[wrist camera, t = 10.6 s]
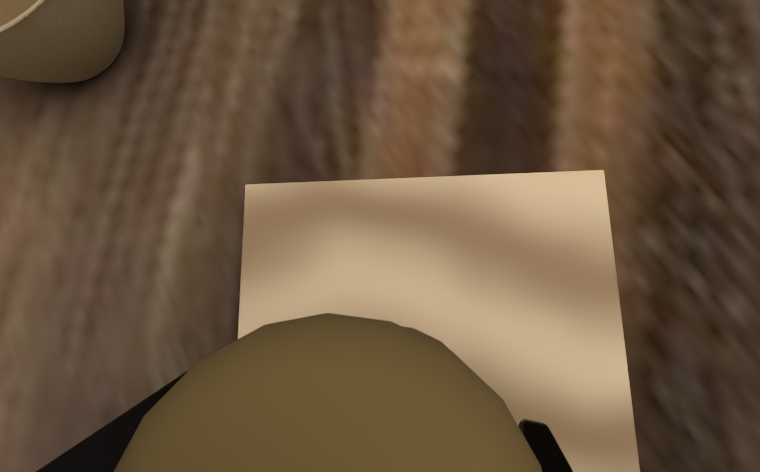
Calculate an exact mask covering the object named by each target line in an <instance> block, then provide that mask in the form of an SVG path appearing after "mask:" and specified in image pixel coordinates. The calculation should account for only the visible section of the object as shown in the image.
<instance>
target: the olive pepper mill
mask: <svg viewBox="0 0 760 472" xmlns="http://www.w3.org/2000/svg"><path fill="white" fill-rule="evenodd" d="M114 472H542V468H541V465H540V463H539V462H538V460H537V458H536V456H535V455H534V453H533V451H532V449H531V448H530V446H529V444H528V442H527V441H526V439H525V437H524V435H523V434H522V432H521V430H520V428H519V427H518V425H517V423H516V421H515V420H514V418H513V416H512V414H511V412H510V411H509V409H508V407H507V405H506V404H505V402H504V400H503V399H502V398H501V397H500V396H499V395H498V394H497V393H496V392H495V391H494V390H493V389H491V388H490V387H489V386H488V385H487V384H486V383H485V382H484V381H483V380H482V379H481V378H480V377H479V376H478V375H477V374H476V373H475V372H474V371H472V370H471V369H470V368H469V367H468V366H467V365H466V364H465V363H464V362H463V361H462V360H461V359H460V358H459V357H458V356H457V355H456V354H455V353H453V352H452V351H451V350H450V349H449V348H448V347H447V346H445V345H444V344H443V343H442V342H441V341H439V340H437V339H435V338H433V337H431V336H429V335H427V334H425V333H423V332H421V331H419V330H416V329H414V328H410V327H402V326H400V325H398V324H396V323H394V322H391V321H385V320H377V319H370V318H362V317H355V316H347V315H340V314H333V313H324V314H319V315H313V316H308V317H303V318H297V319H292V320H287V321H282V322H276V323H271V324H266V325H263V326H261V327H260V328H258V329H256V330H254V331H252V332H250V333H249V334H247V335H245V336H243V337H241V338H239V339H238V340H236V341H234V342H232V343H230V344H228V345H227V346H225V347H223V348H221V349H219V350H217V351H216V352H214V353H212V354H210V355H208V356H207V357H205V358H204V359H202V360H201V361H199V362H198V363H196V364H195V365H194V366H193V367H192V368H191V369H190V370H189V371H188V372H187V373H186V374H185V375H184V376H183V377H182V378H181V379H180V380H179V381H178V382H177V383H176V384H175V385H174V386H173V387H172V388H171V389H170V390H169V391H168V392H167V393H166V394H165V395H164V396H163V397H162V398H161V399H160V400H159V401H158V402H157V403H156V404H155V405H154V406H153V407H152V408H151V409H150V410H149V411H148V412H147V413H146V414H145V415H144V417H143V419H142V421H141V422H140V424H139V426H138V428H137V430H136V431H135V433H134V435H133V437H132V439H131V441H130V442H129V444H128V446H127V448H126V450H125V452H124V453H123V455H122V457H121V459H120V461H119V463H118V464H117V466H116V468H115V470H114Z"/></svg>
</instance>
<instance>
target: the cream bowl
mask: <svg viewBox="0 0 760 472" xmlns="http://www.w3.org/2000/svg"><path fill="white" fill-rule="evenodd" d="M124 34H125V16H124V3H123V0H0V77H5V78H10V79H16V80H23V81H31V82H42V83H71V82H79V81H84V80H87V79H90V78H92V77H94V76H96V75H98V74H100V73H101V72H103V71H104V70H105V69H107V68H108V67H109V66H110V65H111V64H112V63H113V61H114V60H115V59H116V57H117V56H118V54H119V52H120V50H121V47H122V44H123V40H124Z"/></svg>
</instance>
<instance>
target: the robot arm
mask: <svg viewBox="0 0 760 472" xmlns="http://www.w3.org/2000/svg"><path fill="white" fill-rule="evenodd" d="M188 371H189V370H188ZM188 371H187V372H188ZM187 372H185V373H184V374H182V375H181V376H179V377H178V378H176V379H175V380H173V381H172V382H170V383H169V384H167V385H166V386H164V387H163V388H161V389H160V390H158V391H157V392H155V393H154V394H152V395H151V396H149V397H148V398H146V399H145V400H143V401H142V402H140V403H139V404H137V405H136V406H134V407H133V408H131V409H130V410H128V411H127V412H125V413H123V414H122V415H120V416H119V417H117V418H116V419H114V420H113V421H111V422H110V423H108V424H107V425H105V426H104V427H102V428H101V429H99V430H98V431H96V432H95V433H93V434H92V435H90V436H89V437H87V438H86V439H84V440H83V441H81V442H80V443H78V444H77V445H75V446H74V447H72V448H71V449H69V450H68V451H66V452H65V453H63V454H62V455H60V456H59V457H57V458H56V459H54V460H53V461H51V462H50V463H48V464H47V465H45V466H44V467H42V468H41V469H39V470H38V471H36V472H114V470H115V468H116V466H117V464H118V463H119V461H120V459H121V457H122V455H123V453H124V452H125V450H126V448H127V446H128V444H129V442H130V441H131V439H132V437H133V435H134V433H135V431H136V430H137V428H138V426H139V424H140V422H141V421H142V419H143V417H144V415H145V414H146V413H147V412H148V411H149V410H150V409H151V408H152V407H153V406H154V405H155V404H156V403H157V402H158V401H159V400H160V399H161V398H162V397H163V396H164V395H165V394H166V393H167V392H168V391H169V390H170V389H171V388H172V387H173V386H174V385H175V384H176V383H177V382H178V381H179V380H180V379H181V378H182V377H183V376H184V375H185V374H186V373H187ZM518 427H519V428H520V430H521V432H522V434H523V435H524V437H525V439H526V441H527V442H528V444H529V446H530V448H531V449H532V451H533V453H534V455H535V456H536V458H537V460H538V462H539V463H540V465H541V468H542V472H573V470H572V468H571V466H570V465H569V463H568V461H567V459H566V457H565V456H564V454H563V452H562V450H561V449H560V447H559V445H558V443H557V441H556V440H555V438H554V436H553V434H552V432H551V431H550V429H549V427H548V426H547V425H546V424H545V423H542V422H538V421H533V420H529V419H522V420H521V421H520V423H519V425H518Z"/></svg>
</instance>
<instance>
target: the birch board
mask: <svg viewBox="0 0 760 472" xmlns="http://www.w3.org/2000/svg"><path fill="white" fill-rule="evenodd" d="M324 313H333V314H340V315H347V316H355V317H362V318H370V319H377V320H385V321H391V322H394V323H396V324H398V325H400V326H402V327H410V328H414V329H416V330H419V331H421V332H423V333H425V334H427V335H429V336H431V337H433V338H435V339H437V340H439V341H441V342H442V343H443V344H444V345H445V346H447V347H448V348H449V349H450V350H451V351H452V352H453V353H455V354H456V355H457V356H458V357H459V358H460V359H461V360H462V361H463V362H464V363H465V364H466V365H467V366H468V367H469V368H470V369H471V370H472V371H474V372H475V373H476V374H477V375H478V376H479V377H480V378H481V379H482V380H483V381H484V382H485V383H486V384H487V385H488V386H489V387H490V388H491V389H493V390H494V391H495V392H496V393H497V394H498V395H499V396H500V397H501V398H502V399H503V400H504V402H505V404H506V405H507V407H508V409H509V411H510V412H511V414H512V416H513V418H514V420H515V421H516V423H517V425H519V423H520V421H521V420H522V419H529V420H533V421H538V422H542V423H545V424H546V425H547V426H548V427H549V429H550V431H551V432H552V434H553V436H554V438H555V440H556V441H557V443H558V445H559V447H560V449H561V450H562V452H563V454H564V456H565V457H566V459H567V461H568V463H569V465H570V466H571V468H572V470H573V472H640V468H639V459H638V451H637V443H636V434H635V426H634V418H633V409H632V401H631V393H630V384H629V376H628V368H627V360H626V351H625V343H624V335H623V326H622V318H621V310H620V301H619V293H618V285H617V276H616V268H615V260H614V251H613V243H612V235H611V226H610V218H609V210H608V201H607V193H606V185H605V176H604V170H592V171H567V172H543V173H518V174H494V175H469V176H444V177H420V178H395V179H371V180H346V181H322V182H297V183H272V184H248V185H246V186H245V206H244V225H243V245H242V265H241V285H240V305H239V324H238V339H239V338H241V337H243V336H245V335H247V334H249V333H250V332H252V331H254V330H256V329H258V328H260V327H261V326H263V325H266V324H271V323H276V322H282V321H287V320H292V319H297V318H303V317H308V316H313V315H319V314H324Z"/></svg>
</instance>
